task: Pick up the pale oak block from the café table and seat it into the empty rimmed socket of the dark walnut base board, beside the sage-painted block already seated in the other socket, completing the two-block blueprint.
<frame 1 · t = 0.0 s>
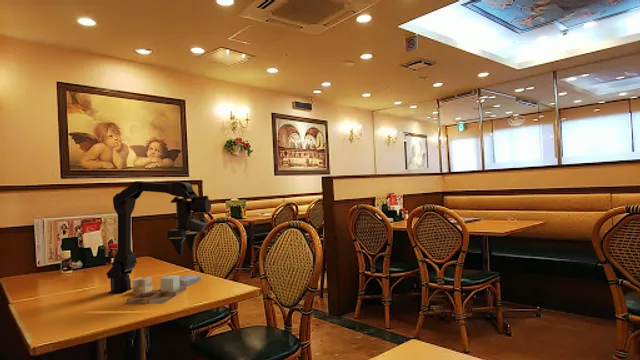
hand: (185, 253, 154), 15 cm above the table, tool pointing down, fingers open, 9 cm apart
sage block: (170, 292, 148), point 1 cm above the table, touching walnut base board
walnut base board: (157, 298, 144), on the table
oak block: (142, 293, 152), on the table
stone block: (184, 286, 162), on the table
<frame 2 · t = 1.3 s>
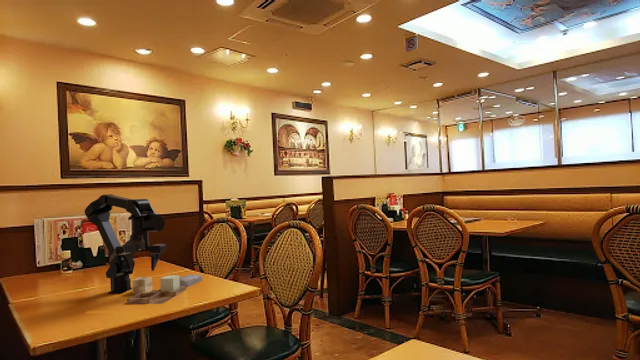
hand: (141, 270, 152), 9 cm above the table, tool pointing down, fingers open, 9 cm apart
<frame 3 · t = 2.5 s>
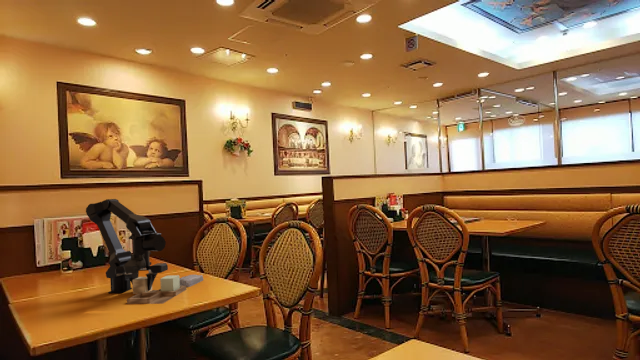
hand: (142, 290, 152), 1 cm above the table, tool pointing down, fingers closed on oak block, 5 cm apart
oak block: (142, 293, 152), on the table, touching gripper
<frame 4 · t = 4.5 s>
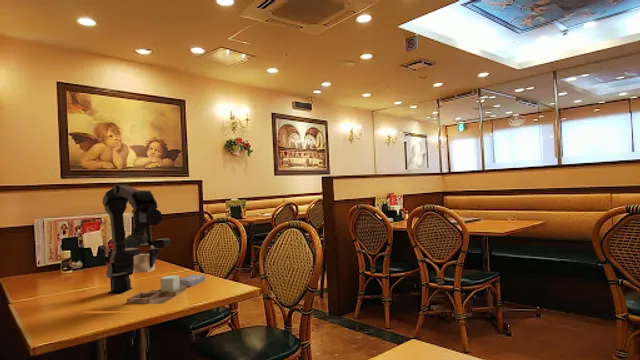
hand: (144, 268, 141), 12 cm above the table, tool pointing down, fingers closed on oak block, 5 cm apart
oak block: (144, 271, 141), point 11 cm above the table, touching gripper
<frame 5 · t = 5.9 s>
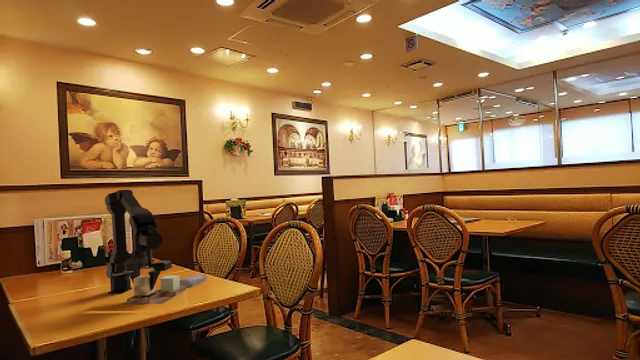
hand: (144, 290, 140), 4 cm above the table, tool pointing down, fingers closed on oak block, 5 cm apart
oak block: (144, 293, 140), point 3 cm above the table, touching gripper
when the fingers open (3 cm above the table, at t = 6.6 s): oak block stays where it is, resting on walnut base board.
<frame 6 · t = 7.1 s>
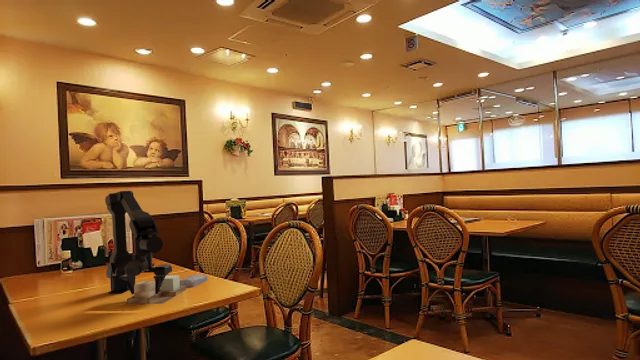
hand: (144, 294, 140), 3 cm above the table, tool pointing down, fingers open, 9 cm apart
oak block: (145, 299, 140), point 1 cm above the table, touching walnut base board
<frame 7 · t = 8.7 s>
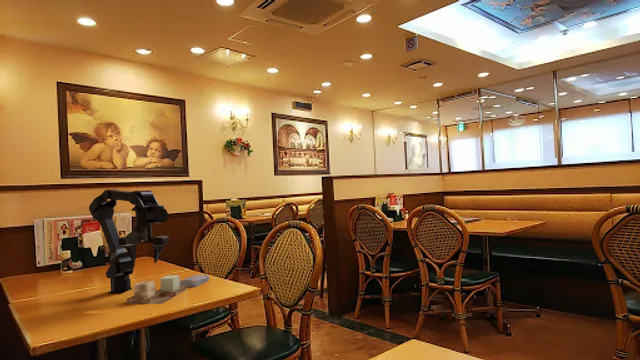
hand: (144, 262, 151), 12 cm above the table, tool pointing down, fingers open, 9 cm apart
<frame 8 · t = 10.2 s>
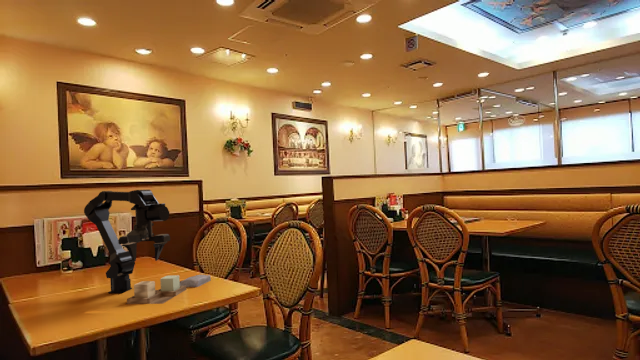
hand: (145, 261, 153), 13 cm above the table, tool pointing down, fingers open, 9 cm apart
at the end: oak block 0.1 cm from the target spot, point 0.8 cm above the table; oak block tilted 0°; the gripper is holding nothing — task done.
